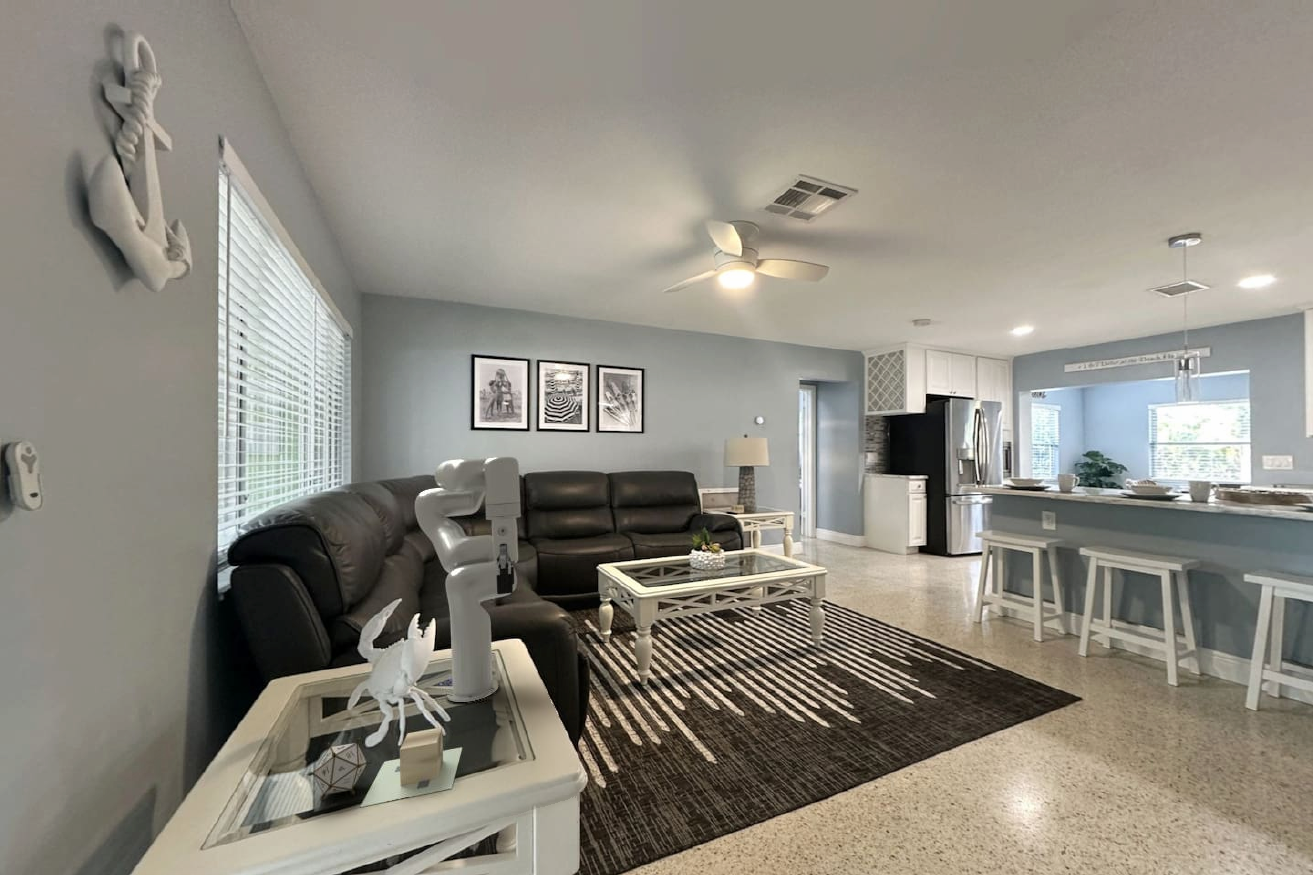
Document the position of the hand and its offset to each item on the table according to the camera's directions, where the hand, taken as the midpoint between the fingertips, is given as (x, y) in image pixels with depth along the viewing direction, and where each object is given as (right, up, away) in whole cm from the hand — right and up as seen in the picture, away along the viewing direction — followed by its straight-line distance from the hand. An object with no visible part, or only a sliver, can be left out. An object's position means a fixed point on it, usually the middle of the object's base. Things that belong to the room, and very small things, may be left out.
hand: (506, 588), depth 111 cm
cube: (-9, -27, -21) cm, 35 cm away
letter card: (-10, -27, -21) cm, 36 cm away
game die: (-21, -28, -25) cm, 43 cm away
